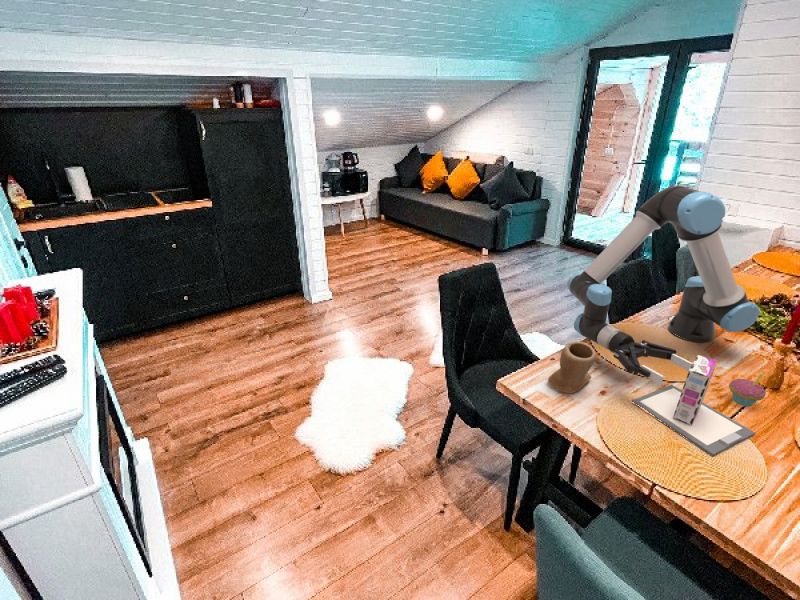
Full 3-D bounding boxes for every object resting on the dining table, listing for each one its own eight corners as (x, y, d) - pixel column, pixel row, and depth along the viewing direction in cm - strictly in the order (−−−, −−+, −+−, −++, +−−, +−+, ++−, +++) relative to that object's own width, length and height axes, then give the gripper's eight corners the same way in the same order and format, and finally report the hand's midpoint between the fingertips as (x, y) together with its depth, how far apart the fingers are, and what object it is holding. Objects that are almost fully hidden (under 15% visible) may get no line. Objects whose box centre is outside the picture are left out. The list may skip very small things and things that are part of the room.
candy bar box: (692, 426, 116) (709, 377, 109) (672, 418, 119) (687, 370, 112) (701, 407, 123) (718, 360, 116) (682, 400, 126) (697, 353, 120)
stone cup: (576, 402, 128) (584, 360, 122) (542, 384, 137) (548, 344, 130) (601, 382, 137) (609, 343, 130) (567, 367, 145) (574, 329, 139)
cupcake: (761, 401, 127) (775, 367, 122) (758, 415, 121) (772, 380, 116) (727, 389, 132) (739, 357, 127) (722, 402, 127) (734, 369, 122)
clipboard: (671, 386, 134) (672, 382, 133) (754, 435, 114) (756, 430, 113) (631, 402, 127) (632, 398, 127) (712, 456, 108) (714, 451, 107)
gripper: (639, 342, 145) (701, 374, 128) (586, 359, 136) (645, 396, 118) (644, 323, 142) (708, 353, 125) (589, 339, 133) (651, 374, 115)
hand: (677, 374), depth 121 cm, fingers open, 13 cm apart
